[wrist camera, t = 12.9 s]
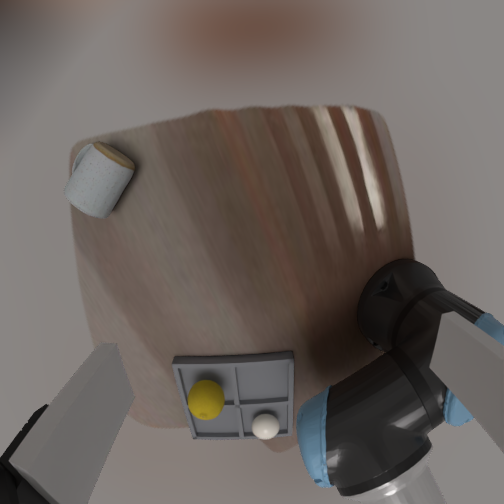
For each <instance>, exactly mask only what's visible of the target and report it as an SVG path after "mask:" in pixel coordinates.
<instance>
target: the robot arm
mask: <svg viewBox="0 0 504 504" xmlns="http://www.w3.org/2000/svg"><path fill="white" fill-rule="evenodd" d="M357 318H358V324H359V328H360V330H361V332H362V334H363V335H364V336H365V338H366V339H367V340H368V342H369V343H370V344H371V345H373V346H374V347H375V348H377V349H379V350H382V351H384V352H386V353H384V354H383V355H381V356H380V357H379V358H377V359H376V360H374V361H373V362H371V363H370V364H368V365H366V366H365V367H363V368H362V369H360V370H359V371H357V372H355V373H354V374H352V375H351V376H349V377H347V378H346V379H344V380H342V381H340V382H339V383H337V384H335V385H334V386H332V385H330V386H328V387H327V388H326V389H325V390H324V391H323V392H321V393H319V394H318V395H316V396H314V397H313V398H311V399H309V400H307V401H306V402H305V403H304V404H303V405H302V406H301V407H300V409H299V411H298V415H297V426H296V429H297V438H298V444H299V448H300V452H301V455H302V458H303V461H304V464H305V466H306V469H307V471H308V473H309V474H310V476H311V478H312V479H314V481H315V483H316V484H317V485H318V486H320V487H332V486H334V485H335V486H336V487H337V489H338V491H339V493H340V495H341V496H342V497H343V498H346V499H351V500H357V501H359V502H360V503H361V504H447V503H446V501H445V499H444V497H443V495H442V493H441V491H440V489H439V487H438V485H437V483H436V481H435V479H434V477H433V475H432V473H431V471H430V469H429V467H428V465H427V461H428V458H429V456H430V454H431V451H432V449H433V446H432V443H431V442H430V440H429V438H428V436H427V434H428V433H429V432H430V431H431V430H433V429H434V428H435V427H437V426H438V425H439V424H441V423H442V422H443V421H446V423H448V424H451V425H453V426H461V425H463V424H464V423H466V422H469V421H471V420H472V419H473V418H475V419H476V420H477V422H478V423H479V424H480V425H481V426H482V427H483V429H484V430H485V431H486V432H487V433H488V434H489V436H490V437H491V438H492V439H493V441H494V442H495V443H496V444H497V446H498V447H499V448H500V449H501V451H502V452H503V453H504V325H503V324H501V323H500V322H499V321H498V320H496V319H495V318H494V317H493V316H492V315H491V314H489V313H485V312H484V311H482V310H481V309H479V308H477V307H475V306H474V305H472V304H470V303H468V302H467V301H465V300H463V299H462V298H460V297H458V296H456V295H455V294H453V293H451V292H449V291H447V290H446V289H445V288H444V287H443V285H442V284H441V282H440V281H439V280H438V278H437V276H436V275H435V273H434V272H433V271H432V270H431V269H430V268H429V267H427V266H426V265H424V264H422V263H420V262H418V261H415V260H412V259H401V260H397V261H394V262H391V263H389V264H387V265H386V266H384V267H383V268H381V269H380V270H379V271H378V272H377V273H376V274H375V275H374V276H373V277H372V278H371V279H370V280H369V282H368V283H367V285H366V287H365V288H364V290H363V292H362V295H361V297H360V300H359V304H358V311H357ZM134 398H135V396H134V393H133V391H132V388H131V385H130V382H129V379H128V377H127V374H126V371H125V368H124V365H123V362H122V358H121V355H120V352H119V349H118V345H117V343H102V342H101V343H100V344H99V345H98V346H97V347H96V349H95V350H94V351H93V352H92V353H91V354H90V356H89V357H88V358H87V359H86V360H85V362H84V363H83V364H82V365H81V366H80V368H79V369H78V370H77V371H76V372H75V374H74V375H73V376H72V377H71V378H70V380H69V381H68V382H67V383H66V385H65V386H64V387H63V389H62V390H61V391H60V392H59V393H58V395H57V396H56V397H55V398H54V400H53V401H52V402H51V404H50V405H47V404H45V405H44V406H43V407H41V408H40V409H38V410H37V411H35V412H34V414H33V415H32V416H31V417H30V419H29V420H28V423H26V424H25V425H24V427H23V428H22V431H20V432H19V433H18V434H17V436H16V437H15V438H14V440H13V441H12V443H11V444H10V445H9V447H8V448H7V449H6V451H5V452H4V453H3V455H2V456H1V457H0V504H88V501H89V499H90V496H91V494H92V491H93V489H94V487H95V484H96V482H97V480H98V477H99V475H100V473H101V470H102V468H103V466H104V463H105V461H106V459H107V456H108V454H109V452H110V450H111V448H112V445H113V443H114V441H115V438H116V436H117V434H118V432H119V430H120V428H121V426H122V424H123V421H124V419H125V417H126V415H127V413H128V411H129V409H130V407H131V404H132V402H133V400H134Z"/></svg>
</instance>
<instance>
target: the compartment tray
mask: <svg viewBox="0 0 504 504" xmlns="http://www.w3.org/2000/svg"><path fill="white" fill-rule="evenodd" d="M172 367H173V371H174V375H175V379H176V383H177V387H178V391H179V394H180V398H181V401H182V405H183V408H184V412H185V415H186V418H187V422H188V425H189V428H190V431H191V434H192V437H193V439H205V440H206V439H208V440H230V439H231V440H234V439H258V437H256V436H255V435H254V433H253V432H252V428H251V425H252V422H253V420H254V419H255V418H256V417H257V416H259V415H261V414H271V415H273V416H275V417H276V418H277V420H278V421H279V424H280V429H279V432H278V433H277V435H276V436H274V437H282V436H292V426H293V391H294V357H293V353H292V351H287V352H276V353H264V354H249V355H230V356H192V357H174V359H173V362H172ZM201 380H211V381H214V382H216V383H217V384H218V385H219V386H220V387H221V388H222V390H223V392H224V396H225V402H224V407H223V409H222V411H221V413H220V414H219V415H218V416H217V417H216V418H214V419H211V420H202V419H199V418H197V417H195V416H194V415H193V414H192V413H191V412H190V410H189V407H188V394H189V391H190V389H191V388H192V386H193V385H194V384H195V383H197V382H199V381H201Z"/></svg>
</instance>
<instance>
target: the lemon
mask: <svg viewBox="0 0 504 504" xmlns="http://www.w3.org/2000/svg"><path fill="white" fill-rule="evenodd" d="M224 402H225V396H224V392H223V390H222V388H221V387H220V386H219V385H218V384H217V383H216V382H214V381H211V380H201V381H199V382H197V383H195V384H194V385H193V386H192V388H191V389H190V391H189V394H188V407H189V410H190V412H191V413H192V414H193V415H194V416H195V417H197V418H199V419H202V420H211V419H214V418H216V417H217V416H218V415H219V414H220V413H221V411H222V409H223V407H224Z"/></svg>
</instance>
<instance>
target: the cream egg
mask: <svg viewBox="0 0 504 504" xmlns="http://www.w3.org/2000/svg"><path fill="white" fill-rule="evenodd" d="M251 428H252V432H253V433H254V435H255V436H256V437H258V438H260V439H271V438H273V437H274V436H276V435H277V433H278V432H279V429H280V424H279V421H278V420H277V418H276V417H275V416H273V415H271V414H261V415H259V416H257V417H256V418H255V419H254V420H253V422H252V425H251Z"/></svg>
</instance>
